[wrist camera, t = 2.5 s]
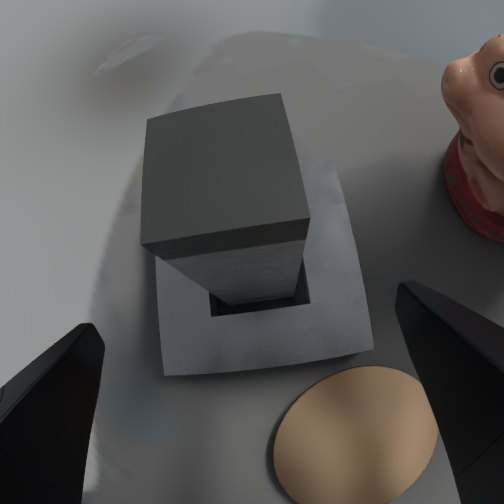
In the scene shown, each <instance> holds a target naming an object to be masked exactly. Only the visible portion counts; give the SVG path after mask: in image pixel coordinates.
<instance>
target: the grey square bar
mask: <svg viewBox="0 0 504 504" xmlns="http://www.w3.org/2000/svg"><path fill="white" fill-rule="evenodd" d="M310 219H311V217H310V212H309V207H308V203H307V198H306V193H305V189H304V184H303V180H302V176H301V171H300V167H299V163H298V159H297V155H296V151H295V146H294V142H293V138H292V135H291V131H290V127H289V123H288V119H287V115H286V112H285V108H284V104H283V101H282V97H281V94H280V93H278V94H270V95H262V96H255V97H248V98H242V99H236V100H230V101H225V102H219V103H214V104H209V105H204V106H199V107H195V108H190V109H186V110H181V111H177V112H173V113H169V114H165V115H161V116H158V117H154V118H151V119H147V128H146V137H145V149H144V162H143V177H142V198H141V245H142V246H144V247H145V248H146V249H148V250H149V251H151V252H152V253H153V254H155V255H156V256H158V257H159V258H160V259H162V260H163V261H165V262H166V263H168V264H169V265H170V266H172V267H173V268H175V269H176V270H178V271H179V272H180V273H182V274H183V275H185V276H186V277H188V278H189V279H191V280H192V281H194V282H195V283H197V284H198V285H200V286H201V287H203V288H204V289H205V290H207V291H208V292H210V293H211V294H213V295H215V296H216V297H218V298H219V299H221V300H222V301H224V302H225V303H227V304H228V305H237V304H245V303H252V302H259V301H267V300H274V299H281V298H287V297H293V296H294V292H295V287H296V283H297V279H298V274H299V270H300V265H301V261H302V256H303V252H304V247H305V243H306V238H307V233H308V228H309V224H310Z"/></svg>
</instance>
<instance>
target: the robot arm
mask: <svg viewBox="0 0 504 504" xmlns="http://www.w3.org/2000/svg"><path fill="white" fill-rule="evenodd" d="M395 311H396V315H397V318H398V321H399V324H400V327H401V330H402V333H403V336H404V339H405V342H406V345H407V349H408V352H409V355H410V357H411V360H412V362H413V365H414V367H415V369H416V372H417V374H418V377H419V379H420V381H421V384H422V386H423V389H424V391H425V394H426V396H427V399H428V401H429V404H430V407H431V409H432V412H433V415H434V417H435V420H436V423H437V426H438V428H439V431H440V434H441V437H442V440H443V443H444V446H445V449H446V452H447V455H448V458H449V461H450V465H451V468H452V471H453V475H454V477H455V482H456V486H457V490H458V494H459V497H460V501H461V504H504V328H503V327H501V326H499V325H497V324H496V323H494V322H492V321H490V320H488V319H487V318H485V317H483V316H481V315H479V314H477V313H476V312H474V311H472V310H470V309H468V308H466V307H464V306H463V305H461V304H459V303H457V302H455V301H453V300H451V299H449V298H447V297H446V296H444V295H442V294H440V293H438V292H436V291H434V290H432V289H430V288H428V287H426V286H424V285H422V284H420V283H418V282H416V281H414V280H407V281H402V282H400V283H399V284H398V288H397V295H396V302H395ZM104 352H105V345H104V341H103V340H102V338H101V336H100V335H99V333H98V331H97V329H96V328H95V326H94V325H93V324H92V323H81V324H79V325H78V326H76V327H75V328H74V329H73V330H71V331H70V332H69V333H67V334H66V335H65V336H64V337H62V338H61V339H60V340H59V341H57V342H56V343H55V344H54V345H52V346H51V347H50V348H48V349H47V350H46V351H45V352H43V353H42V354H41V355H40V356H38V357H37V358H36V359H35V360H34V361H32V362H31V363H30V364H29V365H27V366H26V367H25V368H24V369H23V370H21V371H20V372H19V373H18V374H17V375H15V376H14V377H13V378H12V379H11V380H9V381H8V382H7V383H6V384H5V385H4V386H2V387H1V388H0V504H81V502H82V492H83V483H84V474H85V467H86V459H87V453H88V446H89V440H90V434H91V429H92V423H93V418H94V413H95V408H96V403H97V398H98V393H99V388H100V380H101V373H102V365H103V358H104Z"/></svg>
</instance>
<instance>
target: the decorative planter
mask: <svg viewBox="0 0 504 504" xmlns="http://www.w3.org/2000/svg"><path fill="white" fill-rule="evenodd" d="M441 92H442V96H443V99H444V101H445V103H446V105H447V107H448V108H449V110H450V111H451V113H452V114H453V116H454V117H455V119H456V120H457V122H458V124H459V125H460V130H459V131H458V132H457V134H456V135H455V137H454V138H453V140H452V141H451V143H450V144H449V147H448V149H447V151H446V155H445V162H444V172H445V179H446V184H447V187H448V191H449V194H450V196H451V198H452V201H453V203H454V205H455V206H456V208H457V210H458V211H459V213H460V214H461V216H462V217H463V219H464V220H465V221H466V222H467V224H468V225H469V226H470V227H471V228H472V229H474V230H475V231H476V232H478V233H479V234H481V235H483V236H484V237H486V238H489V239H491V240H493V241H497V242H501V243H504V34H498V35H496V36H495V37H492V38H491V39H490V40H488V41H487V42H486V43H485V44H484V45H483V46H482V47H481V49H479V50H477V51H475V52H474V53H472V54H471V55H470V56H468V57H466V58H463V59H458V60H455V61H452V62H451V63H450V64H449V65H448V66H447V67H446V69H445V71H444V73H443V76H442V81H441Z"/></svg>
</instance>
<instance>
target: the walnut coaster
mask: <svg viewBox="0 0 504 504" xmlns="http://www.w3.org/2000/svg"><path fill="white" fill-rule="evenodd" d="M437 435H438V426H437V423H436V420H435V417H434V415H433V412H432V409H431V407H430V404H429V401H428V399H427V396H426V394H425V391H424V389H423V386H422V384H421V383H420V382H418V381H417V380H416V379H415V378H413V377H412V376H410V375H408V374H406V373H404V372H402V371H399V370H396V369H392V368H387V367H383V366H360V367H354V368H349V369H346V370H342V371H339V372H337V373H334V374H332V375H329V376H327V377H326V378H324V379H322V380H320V381H318V382H317V383H316V384H314V385H313V386H311V387H310V388H308V389H307V390H306V391H305V392H304V393H303V394H302V395H301V396H300V397H299V398H298V399H297V400H296V401H295V402H294V403H293V404H292V406H291V407H290V408H289V410H288V411H287V413H286V414H285V416H284V418H283V420H282V421H281V423H280V426H279V429H278V431H277V434H276V439H275V443H274V455H273V458H274V467H275V471H276V475H277V477H278V479H279V482H280V484H281V485H282V487H283V488H284V490H285V491H286V492H287V493H288V494H289V496H290V497H291V498H293V499H294V500H295V501H296V502H298V503H299V504H386V503H388V502H390V501H392V500H393V499H395V498H396V497H398V496H399V495H400V494H402V493H403V492H404V491H405V490H407V489H408V488H409V487H410V486H411V485H412V484H413V483H414V482H415V481H416V480H417V479H418V477H419V476H420V475H421V473H422V472H423V471H424V469H425V468H426V466H427V464H428V462H429V461H430V458H431V456H432V454H433V451H434V448H435V445H436V441H437Z"/></svg>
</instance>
